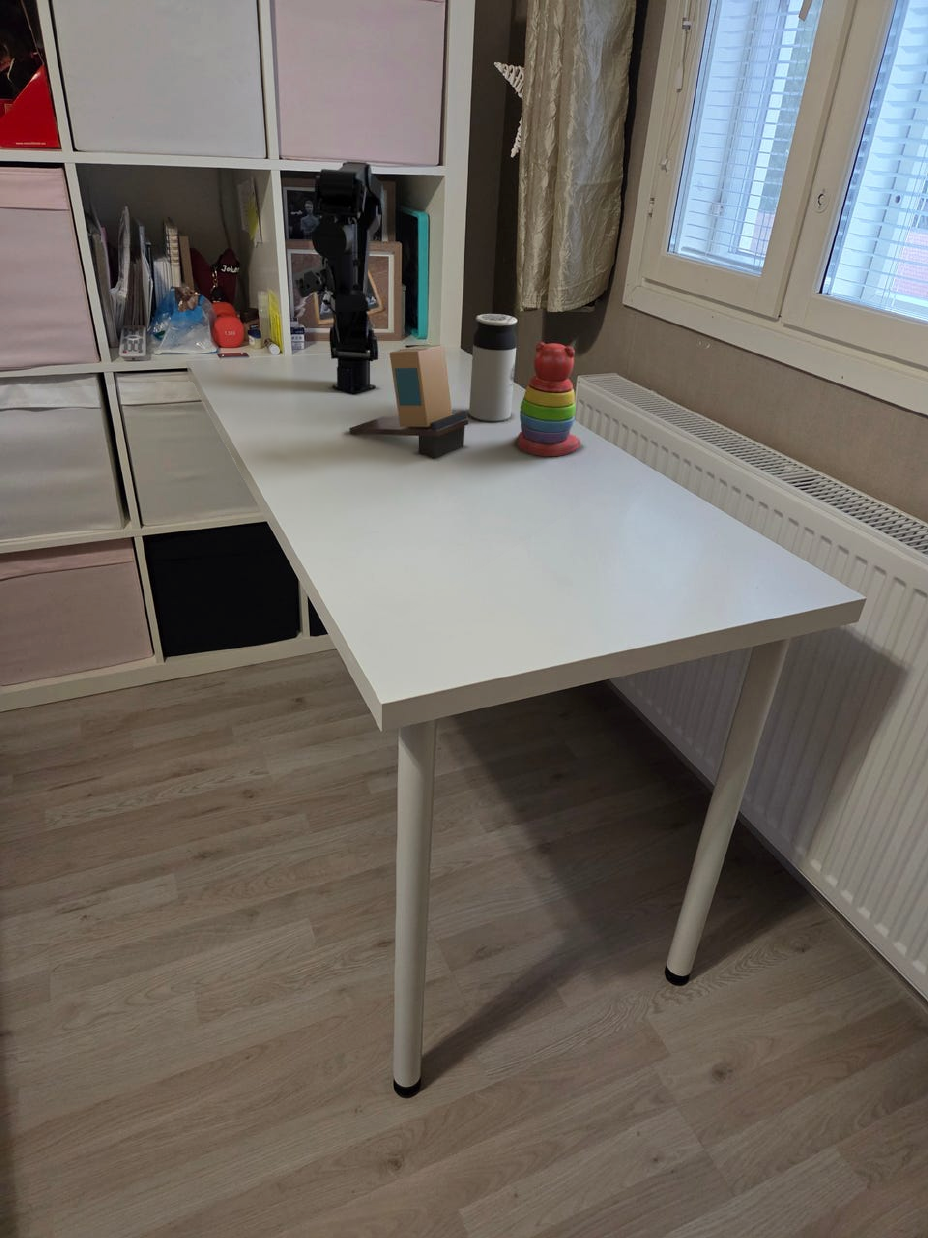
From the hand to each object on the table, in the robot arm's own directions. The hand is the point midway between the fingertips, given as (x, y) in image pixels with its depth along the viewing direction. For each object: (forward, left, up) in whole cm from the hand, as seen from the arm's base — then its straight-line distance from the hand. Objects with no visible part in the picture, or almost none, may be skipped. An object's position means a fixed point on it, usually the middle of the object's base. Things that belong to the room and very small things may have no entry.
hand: (342, 342), depth 156 cm
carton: (+6, +23, -8) cm, 25 cm away
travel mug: (-16, +23, -12) cm, 31 cm away
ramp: (+6, +20, -12) cm, 24 cm away
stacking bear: (-8, +40, -12) cm, 43 cm away
